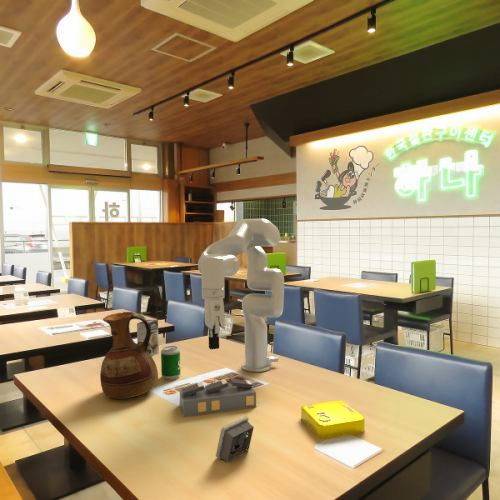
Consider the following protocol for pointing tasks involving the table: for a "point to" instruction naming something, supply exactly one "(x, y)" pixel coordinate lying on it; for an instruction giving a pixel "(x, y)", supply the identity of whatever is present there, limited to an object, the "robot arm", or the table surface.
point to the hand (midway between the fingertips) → (214, 348)
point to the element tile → (332, 419)
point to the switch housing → (217, 400)
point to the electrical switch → (234, 439)
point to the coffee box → (153, 341)
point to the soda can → (170, 362)
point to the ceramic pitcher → (127, 360)
